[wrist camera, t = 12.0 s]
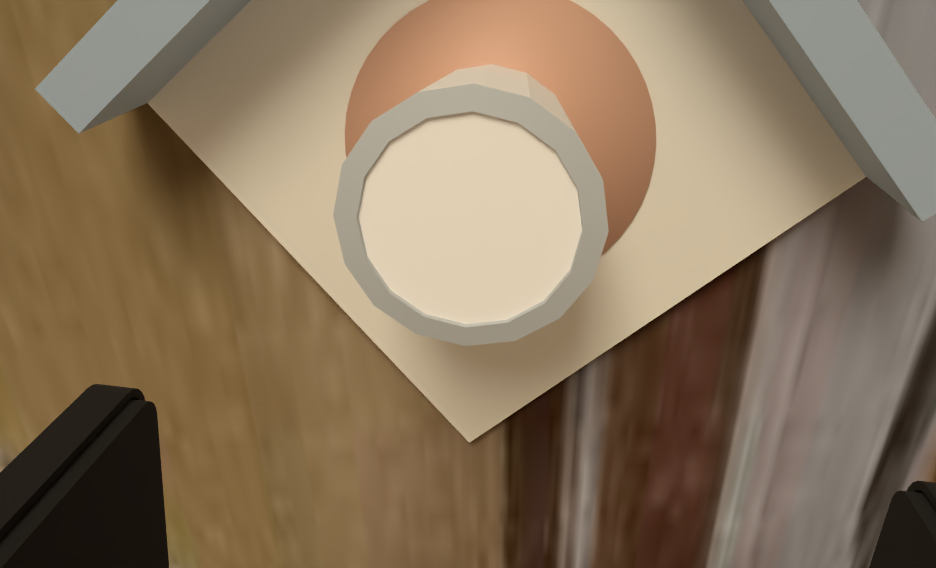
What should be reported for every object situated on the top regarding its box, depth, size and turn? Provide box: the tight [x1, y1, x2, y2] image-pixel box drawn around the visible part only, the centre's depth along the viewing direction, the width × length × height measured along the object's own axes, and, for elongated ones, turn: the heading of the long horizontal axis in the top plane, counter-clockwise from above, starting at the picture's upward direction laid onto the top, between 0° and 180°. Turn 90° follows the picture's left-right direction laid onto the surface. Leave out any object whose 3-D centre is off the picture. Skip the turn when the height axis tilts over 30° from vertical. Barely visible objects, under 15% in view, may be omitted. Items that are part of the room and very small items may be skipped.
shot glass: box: [333, 64, 609, 346], centre depth 24 cm, size 7×7×7 cm
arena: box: [35, 0, 936, 443], centre depth 25 cm, size 18×18×5 cm
